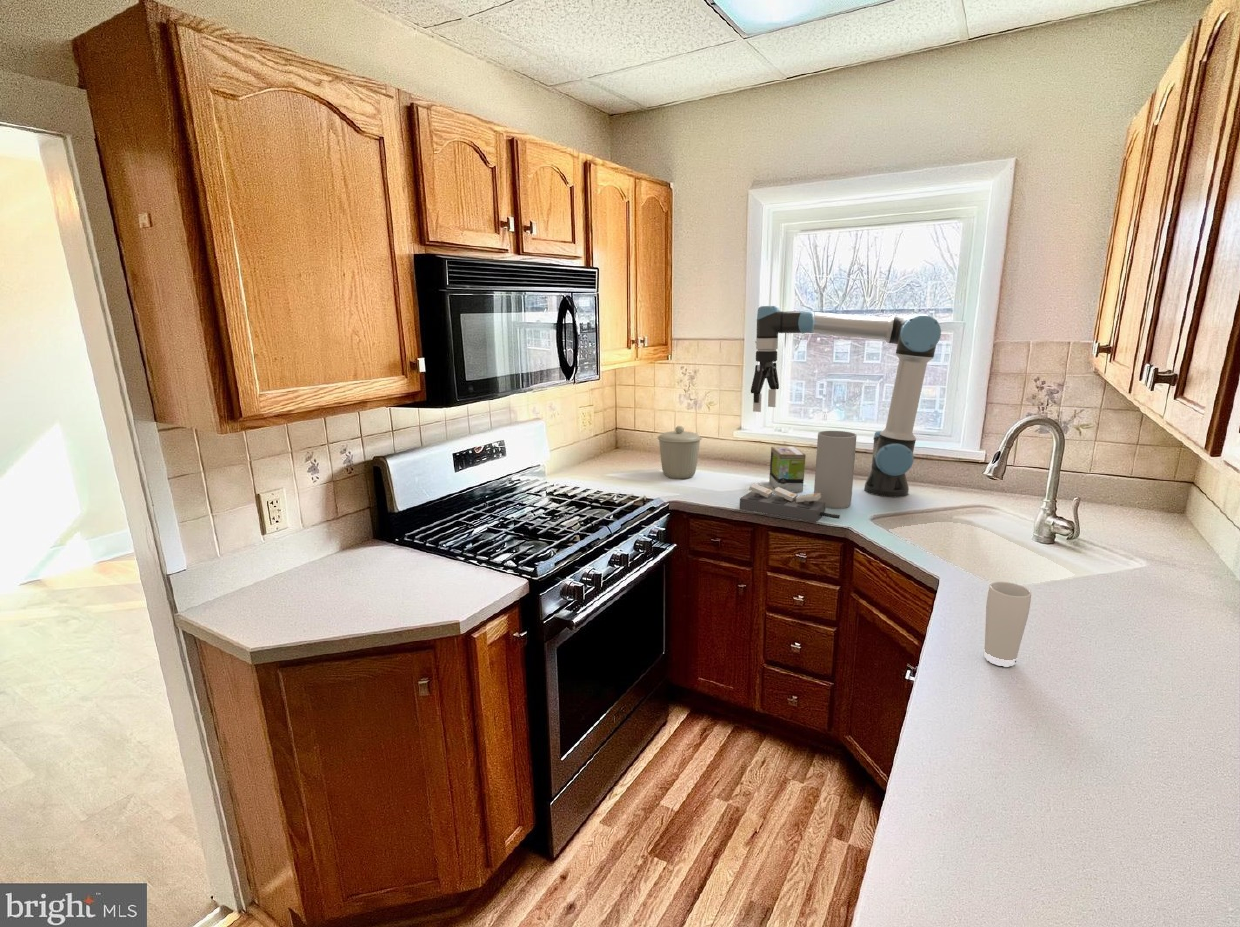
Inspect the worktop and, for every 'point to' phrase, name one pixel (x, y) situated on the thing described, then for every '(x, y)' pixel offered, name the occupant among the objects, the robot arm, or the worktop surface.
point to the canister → (679, 453)
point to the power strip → (784, 507)
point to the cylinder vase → (835, 468)
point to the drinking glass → (1006, 619)
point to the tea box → (787, 468)
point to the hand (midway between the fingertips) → (764, 409)
